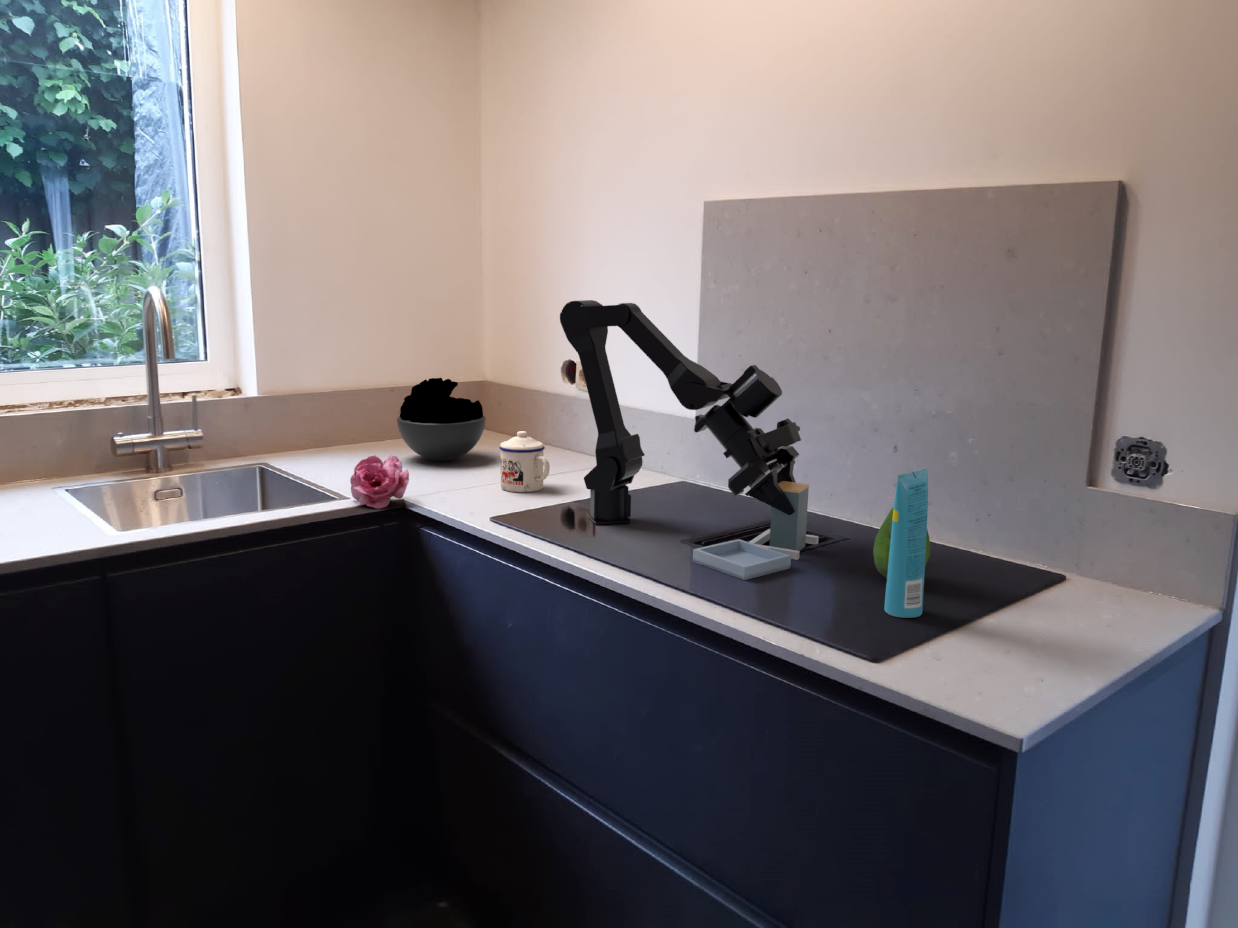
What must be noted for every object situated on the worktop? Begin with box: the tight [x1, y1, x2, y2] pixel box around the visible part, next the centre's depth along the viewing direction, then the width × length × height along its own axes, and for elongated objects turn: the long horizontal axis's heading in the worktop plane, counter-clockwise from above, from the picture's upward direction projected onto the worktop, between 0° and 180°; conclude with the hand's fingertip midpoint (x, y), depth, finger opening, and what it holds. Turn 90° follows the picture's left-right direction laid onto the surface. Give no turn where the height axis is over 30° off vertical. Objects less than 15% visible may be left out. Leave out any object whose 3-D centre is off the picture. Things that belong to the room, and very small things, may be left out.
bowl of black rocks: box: [396, 377, 486, 462], centre depth 220 cm, size 20×20×19 cm
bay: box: [749, 528, 819, 561], centre depth 156 cm, size 9×11×1 cm
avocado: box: [872, 506, 931, 579], centre depth 139 cm, size 8×8×12 cm
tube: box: [883, 467, 929, 619], centre depth 125 cm, size 7×5×19 cm, turn 140°
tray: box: [692, 538, 792, 581], centre depth 146 cm, size 11×10×2 cm
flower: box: [350, 455, 410, 509], centre depth 180 cm, size 11×10×10 cm
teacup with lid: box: [499, 430, 551, 493], centre depth 193 cm, size 12×9×12 cm
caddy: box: [768, 481, 810, 552], centre depth 155 cm, size 4×5×10 cm
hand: (797, 509), depth 154 cm, fingers closed on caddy, 5 cm apart
